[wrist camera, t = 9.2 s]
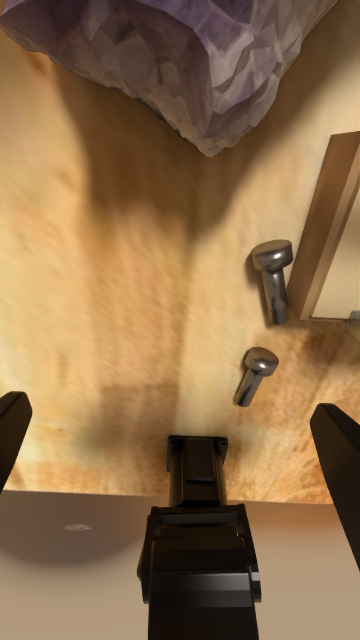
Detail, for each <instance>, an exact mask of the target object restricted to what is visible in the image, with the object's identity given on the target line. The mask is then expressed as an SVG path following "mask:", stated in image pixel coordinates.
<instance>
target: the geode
mask: <svg viewBox="0 0 360 640" xmlns="http://www.w3.org/2000/svg"><path fill="white" fill-rule="evenodd" d="M338 1H339V0H7V1H6V4H5V7H4V9H3V12H2V14H1V16H0V26H1V28H2V29H3V30H4V31H5V33H6V34H7V35H8V36H9V37H10V38H11V39H13V40H14V41H15V42H16V43H17V44H19V45H20V46H21V47H22V48H23V49H25V50H27V51H31V52H42V53H44V54H47V55H48V56H49V58H50V60H51V61H53V62H55V63H56V64H58V65H60V66H61V67H63V68H65V69H66V70H68V71H70V72H74V73H76V74H79V75H81V76H83V77H85V78H87V79H89V80H91V81H93V82H96V83H98V84H100V85H102V86H104V87H106V88H108V89H112V90H120V91H122V92H123V93H125V94H127V95H128V96H130V97H132V98H134V99H136V100H137V101H139V102H141V103H143V104H144V105H146V106H147V107H148V108H149V109H150V110H152V111H153V112H154V113H155V114H156V115H157V116H158V117H159V118H161V119H162V120H164V121H165V122H166V123H167V124H168V125H169V126H170V127H171V128H172V129H173V130H174V131H175V132H176V133H177V134H178V135H179V136H181V137H182V138H183V139H184V140H186V141H187V142H188V143H190V144H192V145H194V146H196V147H198V150H199V151H201V152H202V153H203V154H204V155H205V156H207V157H210V158H212V157H213V156H215V155H221V153H222V151H223V149H224V148H225V147H230V148H233V147H235V145H236V144H237V142H238V141H239V139H240V138H241V136H242V135H243V134H245V133H246V132H248V131H250V130H251V129H253V128H255V127H256V126H257V124H258V123H259V122H260V121H261V120H262V118H263V117H264V116H265V115H266V113H267V112H268V110H269V108H270V107H271V105H272V104H273V102H274V101H275V97H276V93H277V89H278V86H279V82H280V79H281V78H282V77H283V76H284V74H285V73H286V72H287V70H288V69H289V67H290V66H291V65H292V63H293V62H294V60H295V59H296V58H297V57H298V55H299V54H300V49H301V44H302V42H303V41H304V39H305V38H306V37H307V36H308V35H309V34H310V32H311V31H312V30H313V28H314V27H315V26H316V25H317V24H318V23H319V21H320V20H321V19H322V18H323V17H324V16H325V15H326V14H327V13H328V12H329V11H330V10H331V9H332V7H333V6H334V5H335V4H336V3H337V2H338Z"/></svg>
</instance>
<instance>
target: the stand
mask: <svg viewBox="0 0 360 640" xmlns="http://www.w3.org/2000/svg"><path fill="white" fill-rule="evenodd" d="M286 296H287V303H288V305H289V306H290V307H291V309H292V310H293V312H294V313H295V314H296V316H297V317H298V319H299V320H311V321H333V322H347V321H348V318H349V316H350V314H351V312H352V310H356V311H360V131H356V132H349V133H342V134H335V135H331V138H330V142H329V145H328V149H327V152H326V156H325V159H324V163H323V166H322V170H321V173H320V177H319V180H318V183H317V187H316V190H315V194H314V197H313V201H312V204H311V208H310V211H309V215H308V218H307V222H306V225H305V229H304V232H303V235H302V239H301V242H300V246H299V249H298V253H297V256H296V260H295V263H294V267H293V270H292V274H291V277H290V280H289V284H288V287H287V291H286Z"/></svg>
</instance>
